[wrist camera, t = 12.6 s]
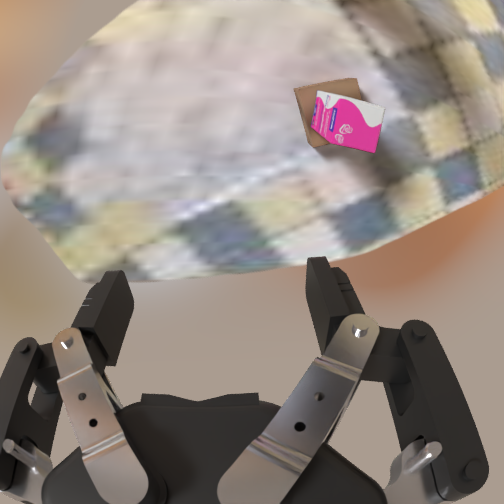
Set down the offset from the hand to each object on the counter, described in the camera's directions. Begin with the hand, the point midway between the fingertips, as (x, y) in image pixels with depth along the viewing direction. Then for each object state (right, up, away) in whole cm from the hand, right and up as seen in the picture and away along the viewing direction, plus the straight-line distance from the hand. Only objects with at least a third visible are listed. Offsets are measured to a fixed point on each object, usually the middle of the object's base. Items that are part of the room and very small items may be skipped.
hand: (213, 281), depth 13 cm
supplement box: (+13, +21, +26) cm, 36 cm away
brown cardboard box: (+13, +23, +29) cm, 40 cm away
